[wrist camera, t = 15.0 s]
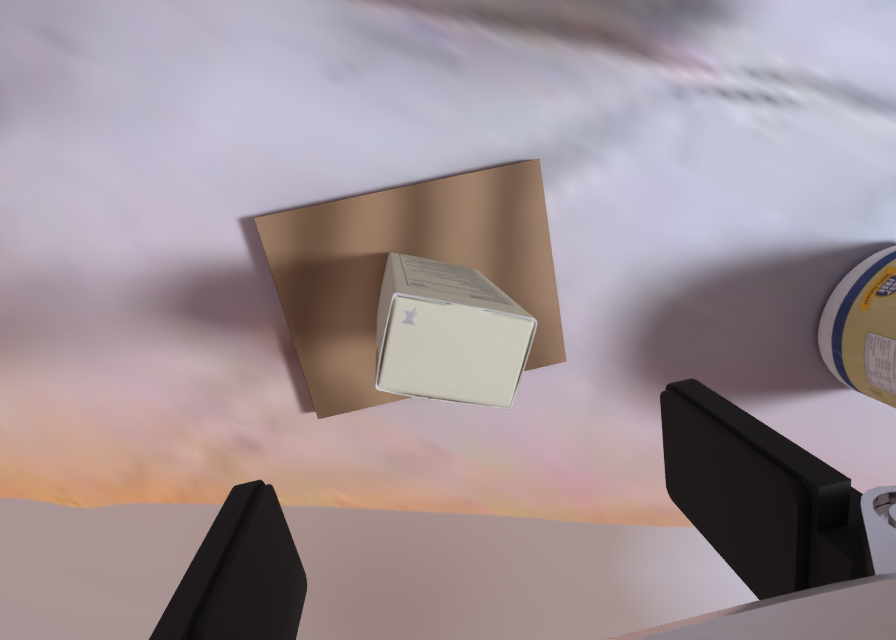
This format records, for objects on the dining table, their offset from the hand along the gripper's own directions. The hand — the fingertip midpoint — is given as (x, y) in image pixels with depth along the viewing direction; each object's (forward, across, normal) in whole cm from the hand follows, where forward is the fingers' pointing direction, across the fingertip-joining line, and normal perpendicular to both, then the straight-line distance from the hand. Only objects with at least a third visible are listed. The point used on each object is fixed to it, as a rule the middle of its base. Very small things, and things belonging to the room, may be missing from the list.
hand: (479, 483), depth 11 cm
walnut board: (+22, 0, 0) cm, 22 cm away
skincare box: (+21, 0, 0) cm, 21 cm away
